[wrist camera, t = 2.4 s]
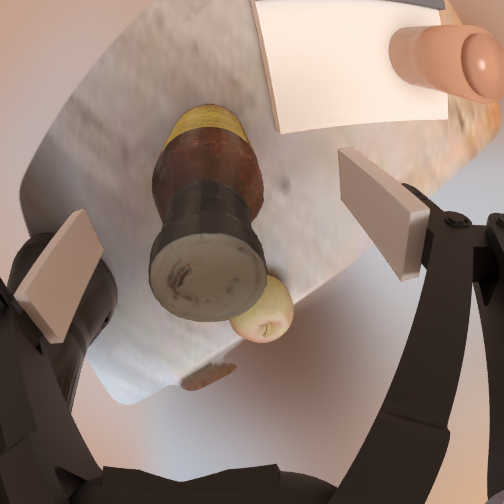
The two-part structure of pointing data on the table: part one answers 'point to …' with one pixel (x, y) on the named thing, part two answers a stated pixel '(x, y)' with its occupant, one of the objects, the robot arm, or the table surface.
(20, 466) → the robot arm
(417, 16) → the white rectangular box
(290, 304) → the fruit
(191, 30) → the table surface
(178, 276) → the sauce bottle
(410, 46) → the terracotta jar
